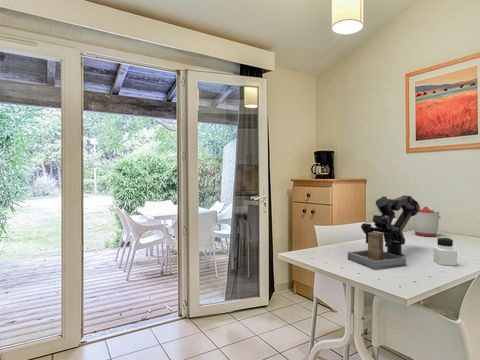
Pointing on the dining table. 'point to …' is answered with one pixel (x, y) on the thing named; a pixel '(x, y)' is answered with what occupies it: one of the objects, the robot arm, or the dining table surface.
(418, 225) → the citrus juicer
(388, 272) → the dining table surface
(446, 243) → the medicine bottle
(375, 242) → the walnut block
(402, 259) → the tray
